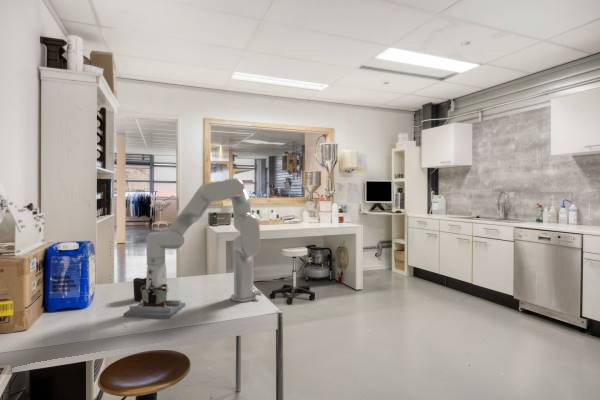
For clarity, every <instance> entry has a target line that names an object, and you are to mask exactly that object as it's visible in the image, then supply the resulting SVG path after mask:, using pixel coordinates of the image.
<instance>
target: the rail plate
mask: <svg viewBox="0 0 600 400" xmlns="http://www.w3.org/2000/svg"><path fill="white" fill-rule="evenodd" d="M181 301H182V300H181V299H166V307H160V306H143V299H142V300H141V302H139V303H138V304H137V305H130V306H129V309H127V311H125V312H123V318H139V319H140V318H142V319H144V318H147V319H171V318H173V317H174V315H176V314H178V313H179V311H181V310H182V309H183V308H185V307H186V302H181Z"/></svg>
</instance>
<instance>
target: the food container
mask: <svg viewBox="0 0 600 400" xmlns="http://www.w3.org/2000/svg"><path fill="white" fill-rule="evenodd" d="M152 287H154V286H152ZM141 290H142V299H143V306H160V307H166V300H167V298H168V297H167V296H168V292H169V291H170V289H169V286H168V284H167V283H166V284H164V285H163V286H161V287H159V288H156V291H155V295H156V304H148V293H147V291H146V285H143V286H141V289H140V291H141ZM151 290H152V291H153V289H151Z"/></svg>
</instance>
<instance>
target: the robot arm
mask: <svg viewBox="0 0 600 400" xmlns="http://www.w3.org/2000/svg"><path fill="white" fill-rule="evenodd" d="M228 199H229V200H231V203H232V211H233V214H232V215H233V226H234V229H235V230H236V231H237V232H239V233H240V234H238V235H237V236H235V238H234V239H233V242H232V253H233V293H232V295H230V300H231V301H233V302H241V303H243V302H246V303H247V302H251V301H254V300H255V299H256V298H257V296H263V295H262V294H263V291H261V290H256V289H255V287H254V257H255V256H256V255H257V254H258V253H259V251H260V249H261V234H260V231H261V229H260V228H261V227H260V221H259V219H258V218H257V217H256V215H254V214H252V211H251V210H252V208H251V202H250V197H249V194H248V193H247V191H246V190H245V184H244V182H243V181H242V180H241V179H239V178H234V177H233V178H227V179H225V180H221V181H216V182H209V183H208V182H207V183H203V184H202V185H200V186H199V188H197V190H196V192H195V193H194V194H193V196H192V197H191V199H190V200H189V202H188V203H187V204H186V206H185V207H184V208H183V209H182V210H181V212H180V213H179V215H178V216H177V217H176V218H175V219H174V220H173V222H172V223H171V224H170V226H169V227H168V229H167V230H166V231H165V233H164V232H161V231H159V232H158V231H155V232H149V233H148V234H147V235H146V266H147V267H146V277H145V278H146V291H147V293H148V304H156V295H155V291H156V288H159V287H161V286H163V285H164V284H167V282H168V281H167V280H168V279H167V267H166V266H167V265H166V249H168V250H169V249H170V250H171V249H172V250H177V249H179V248H182V247H183V246H184V243H185V237H184V235H185V233H186V232H187V231H188V229H189V228H190V227H191V226H192V225H194V224H195V223H196V222H198V221H199V220H200V219H202V217H203V216H204V214H205V212H206V211H207V210H208V209H209V207H210V205H211V204H212V203H213V202H217V201H218V202H219V201H223V200H228ZM152 286H154V287H152ZM151 289H153V291H152V290H151Z"/></svg>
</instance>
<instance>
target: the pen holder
mask: <svg viewBox="0 0 600 400" xmlns="http://www.w3.org/2000/svg"><path fill="white" fill-rule="evenodd" d="M132 282H133V300H134V301H135V302H139V303H141V300H142V290H141V291H140V289H141V286H143V285H146V277H144V278H141V277H136V278H134V279H133V281H132Z"/></svg>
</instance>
